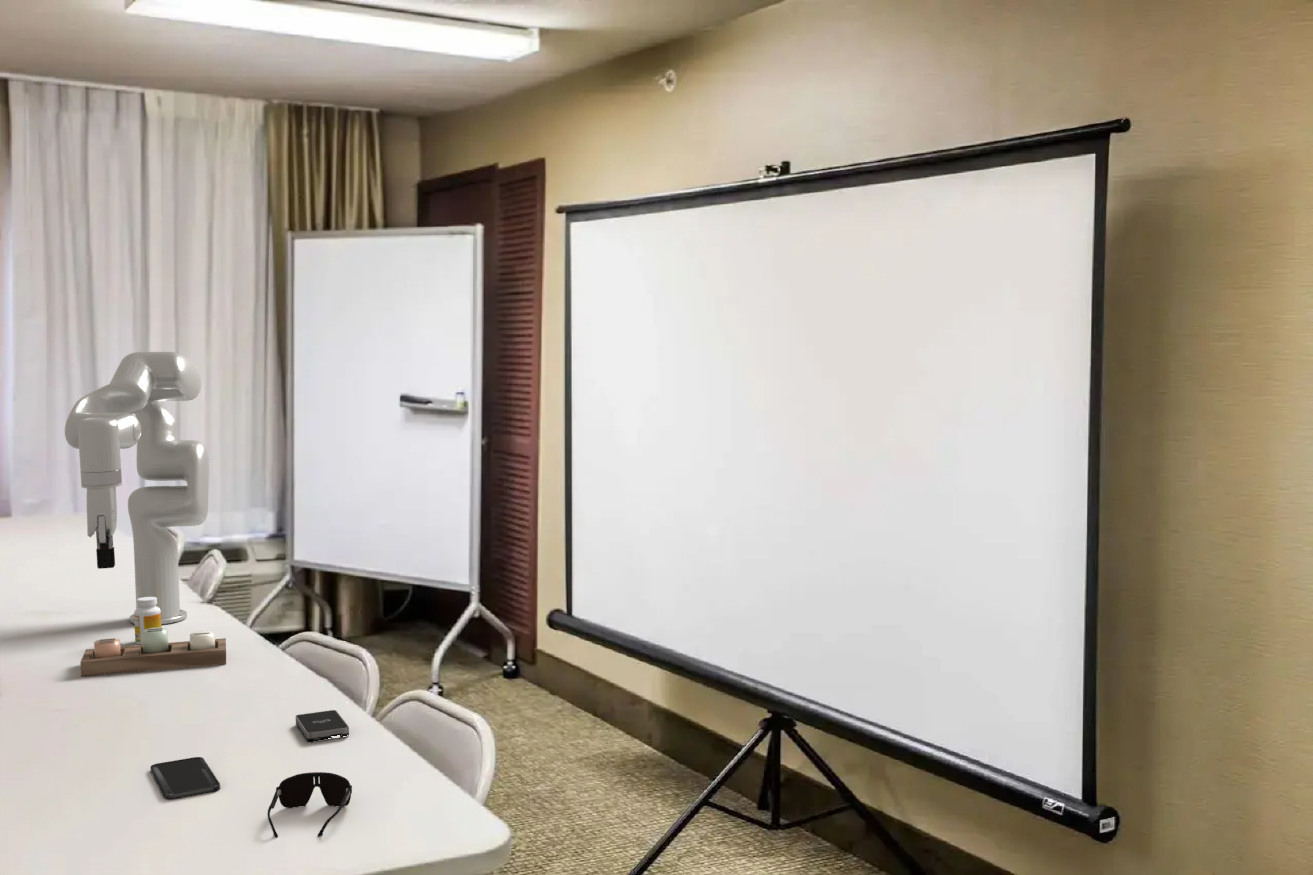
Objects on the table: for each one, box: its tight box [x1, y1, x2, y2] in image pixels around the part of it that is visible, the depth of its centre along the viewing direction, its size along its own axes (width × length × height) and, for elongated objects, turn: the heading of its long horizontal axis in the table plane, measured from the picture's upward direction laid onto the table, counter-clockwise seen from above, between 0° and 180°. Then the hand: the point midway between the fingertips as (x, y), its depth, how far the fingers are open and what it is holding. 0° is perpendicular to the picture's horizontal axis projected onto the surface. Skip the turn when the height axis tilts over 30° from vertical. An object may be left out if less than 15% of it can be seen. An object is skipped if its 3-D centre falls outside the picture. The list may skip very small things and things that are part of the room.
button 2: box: [142, 627, 169, 653], centre depth 251 cm, size 5×5×4 cm
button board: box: [79, 637, 227, 677], centre depth 251 cm, size 10×27×3 cm, turn 109°
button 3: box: [93, 638, 121, 658], centre depth 248 cm, size 5×5×4 cm
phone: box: [150, 756, 221, 801], centre depth 186 cm, size 8×1×15 cm
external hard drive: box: [295, 709, 350, 743], centre depth 209 cm, size 7×11×2 cm, turn 26°
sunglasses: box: [267, 771, 353, 838], centre depth 170 cm, size 10×12×5 cm
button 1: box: [189, 630, 216, 650], centre depth 254 cm, size 5×5×4 cm
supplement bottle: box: [133, 597, 162, 645], centre depth 269 cm, size 5×5×10 cm
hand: (106, 567), depth 251 cm, fingers closed
